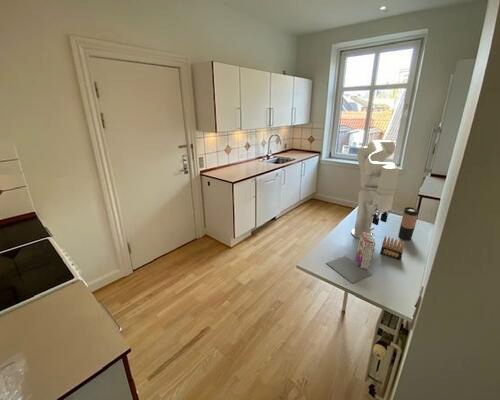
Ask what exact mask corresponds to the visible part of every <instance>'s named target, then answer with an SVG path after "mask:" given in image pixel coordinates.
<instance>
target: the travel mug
mask: <svg viewBox="0 0 500 400" xmlns="http://www.w3.org/2000/svg"><path fill="white" fill-rule="evenodd" d="M419 213H420V210H419V209H415V208H414V207H404V210H403V214H402V218H401V222H400V226H399V231H398V238H399V240H403V241H411V240H412V237H413V234H414V230H415V227H416V224H417V221H418V216H419Z"/></svg>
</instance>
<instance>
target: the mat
mask: <svg viewBox="0 0 500 400" xmlns="http://www.w3.org/2000/svg"><path fill="white" fill-rule="evenodd" d="M326 265H327V266H329V267H330V268H331V269H333V270H334V271H335V272H337V273H338V274H339V275H341V277H343V278H345V279H346V280H347V281H348V282H349V283H351V285H352V284H355V283H357V282H359V281H362V280H364V279H367V278H368V277H371V276H373V273H372V272H370V271H369V270H368V269H362V268H360V267H359V264H358V262H355V261H354V260H352V259H351V258H349V257H348V256H346V255H343V256H342V257H338V258H335V259H332V260H331V261H328V262H326Z"/></svg>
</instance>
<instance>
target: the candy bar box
mask: <svg viewBox="0 0 500 400" xmlns="http://www.w3.org/2000/svg"><path fill="white" fill-rule="evenodd" d="M375 246H376V241H375V239H374V237H373V235H372V236H371V234H370V233H366V232H361V235H360V238H358V245H357V249H356V254H355V259H356V261H357V262H356V263H357V264H358V265H359V267H360V268H362V269H366V270H370V267H371V263H372V257H373V254H374V252H375V251H374V250H375Z"/></svg>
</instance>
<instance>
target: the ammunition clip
mask: <svg viewBox="0 0 500 400" xmlns="http://www.w3.org/2000/svg"><path fill="white" fill-rule="evenodd" d="M394 239H395V240H394ZM390 240H391V241H390ZM401 240H402V239H399V240H398V239H397V238H394V237H392V238H391V237H390V236H389V237H388V238H387V235H386V236H384V237H383V241H382V244H381V249H380V251H379V252H380V253H379V255H382V256H385V257H388V258H391V259H394V260H398V261H402V257H403V253H404V248H405V240H403V241H402V242H401Z"/></svg>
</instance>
